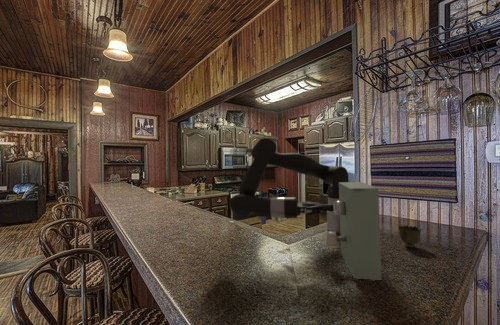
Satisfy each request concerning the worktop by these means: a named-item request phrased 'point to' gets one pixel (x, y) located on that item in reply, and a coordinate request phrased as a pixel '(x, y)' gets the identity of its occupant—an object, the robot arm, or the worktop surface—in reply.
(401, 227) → the cup
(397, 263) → the worktop surface
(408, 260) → the worktop surface
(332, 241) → the lower knob
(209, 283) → the worktop surface
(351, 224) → the block
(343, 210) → the upper knob
